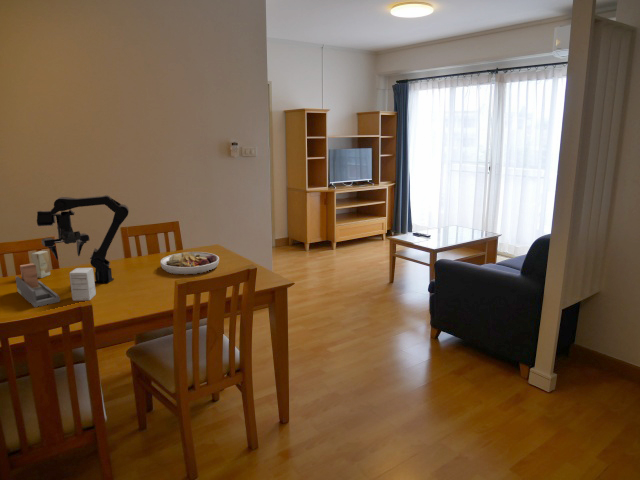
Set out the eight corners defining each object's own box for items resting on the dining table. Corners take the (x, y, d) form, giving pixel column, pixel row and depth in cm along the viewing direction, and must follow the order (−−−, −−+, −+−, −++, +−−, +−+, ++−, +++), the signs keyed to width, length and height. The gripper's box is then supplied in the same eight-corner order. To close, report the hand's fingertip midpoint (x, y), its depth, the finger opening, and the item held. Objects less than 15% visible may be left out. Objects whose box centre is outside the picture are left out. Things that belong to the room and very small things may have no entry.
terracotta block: (22, 286, 207) (19, 265, 205) (35, 284, 211) (32, 263, 208) (25, 289, 204) (22, 267, 201) (38, 286, 207) (35, 265, 205)
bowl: (150, 275, 233) (149, 260, 232) (175, 259, 262) (174, 245, 261) (207, 278, 230) (207, 263, 228) (226, 261, 259) (226, 248, 257)
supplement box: (79, 294, 204) (76, 267, 201) (96, 294, 205) (93, 267, 202) (71, 300, 197) (68, 272, 194) (89, 300, 197) (86, 272, 194)
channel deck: (17, 291, 207) (15, 276, 205) (41, 286, 213) (39, 272, 212) (34, 307, 189) (32, 291, 187) (60, 301, 196) (58, 286, 194)
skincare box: (41, 278, 225) (38, 254, 222) (33, 277, 226) (30, 253, 223) (51, 274, 231) (48, 250, 228) (43, 273, 232) (40, 250, 229)
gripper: (46, 230, 199) (50, 265, 202) (91, 225, 211) (95, 257, 215) (39, 226, 206) (43, 259, 210) (83, 221, 219) (87, 253, 223)
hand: (68, 257), depth 214 cm, fingers open, 9 cm apart
